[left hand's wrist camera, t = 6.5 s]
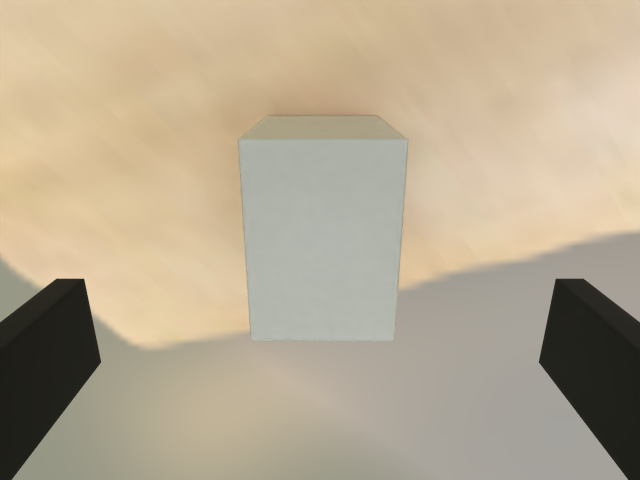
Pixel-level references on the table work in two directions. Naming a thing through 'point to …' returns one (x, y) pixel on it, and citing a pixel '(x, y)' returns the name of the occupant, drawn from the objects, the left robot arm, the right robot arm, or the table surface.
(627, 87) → the table surface
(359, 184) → the grey rectangular block
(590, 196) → the table surface
